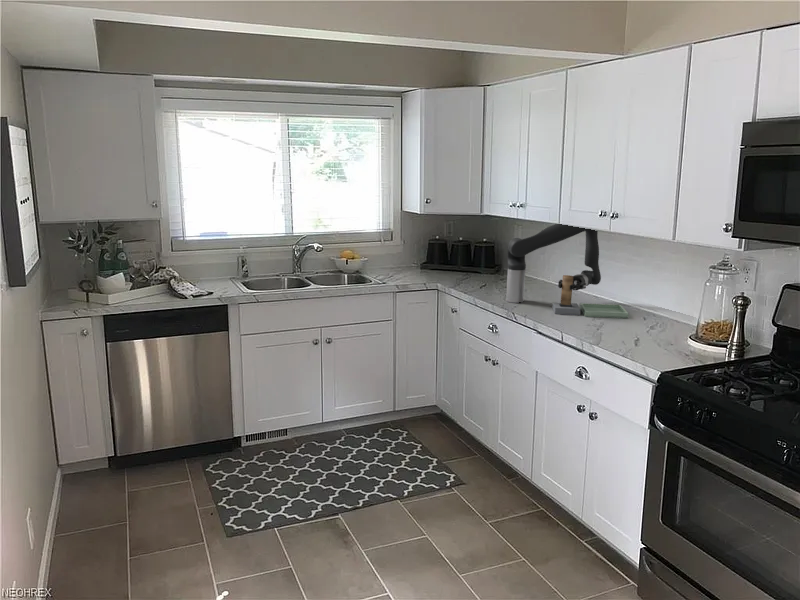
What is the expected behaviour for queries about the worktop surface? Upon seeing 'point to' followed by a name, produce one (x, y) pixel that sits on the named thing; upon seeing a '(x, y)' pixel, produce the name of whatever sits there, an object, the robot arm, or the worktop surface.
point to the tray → (603, 310)
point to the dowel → (566, 290)
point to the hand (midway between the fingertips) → (565, 286)
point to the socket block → (566, 309)
